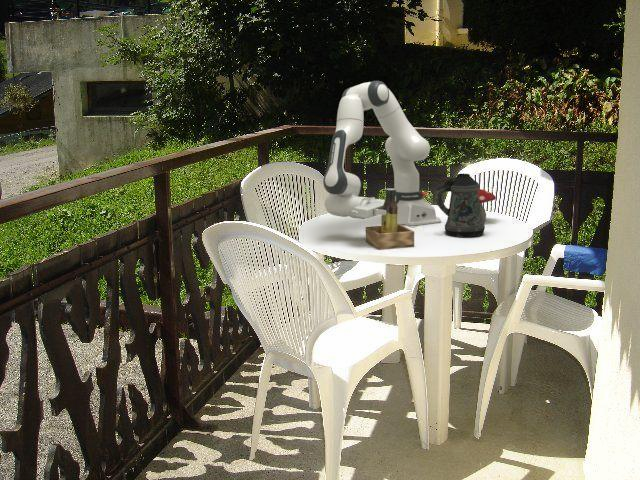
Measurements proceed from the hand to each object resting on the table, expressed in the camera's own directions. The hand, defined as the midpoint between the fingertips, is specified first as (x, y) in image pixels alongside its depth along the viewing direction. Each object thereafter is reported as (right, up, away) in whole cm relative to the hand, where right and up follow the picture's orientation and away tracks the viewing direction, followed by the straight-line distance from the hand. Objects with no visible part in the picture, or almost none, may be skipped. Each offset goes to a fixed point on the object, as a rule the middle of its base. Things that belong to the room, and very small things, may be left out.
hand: (391, 210), depth 305 cm
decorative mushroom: (+43, -3, +44) cm, 62 cm away
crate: (0, -13, +3) cm, 13 cm away
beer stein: (+31, -9, +19) cm, 37 cm away
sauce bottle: (-1, -11, +3) cm, 11 cm away
